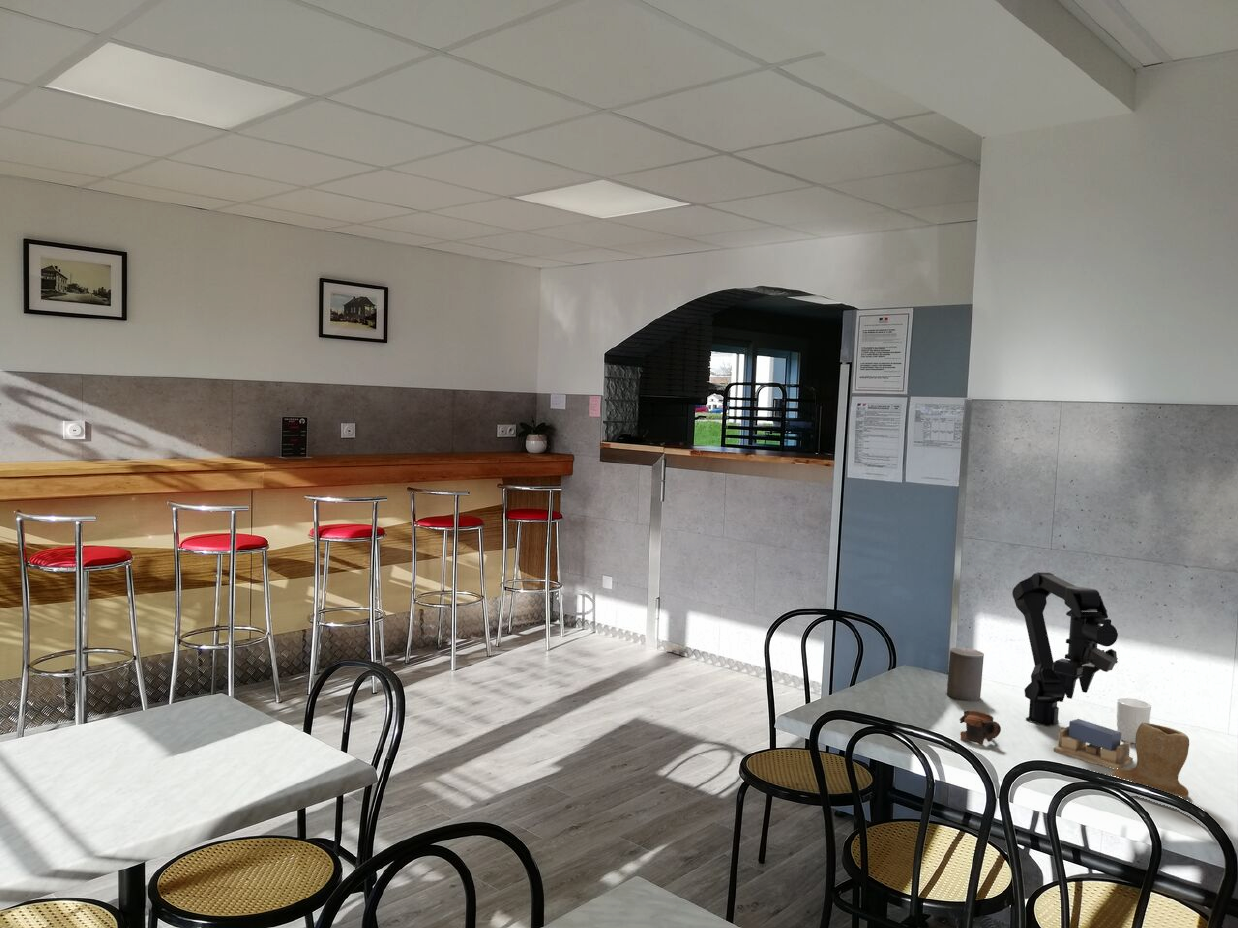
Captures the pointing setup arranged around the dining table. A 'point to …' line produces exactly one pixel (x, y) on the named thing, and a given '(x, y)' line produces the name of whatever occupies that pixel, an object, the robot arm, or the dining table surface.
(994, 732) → the pottery mug
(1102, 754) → the display cradle
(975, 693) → the pillar candle
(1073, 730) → the tall slate-blue box
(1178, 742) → the stone cup
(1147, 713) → the white cup
